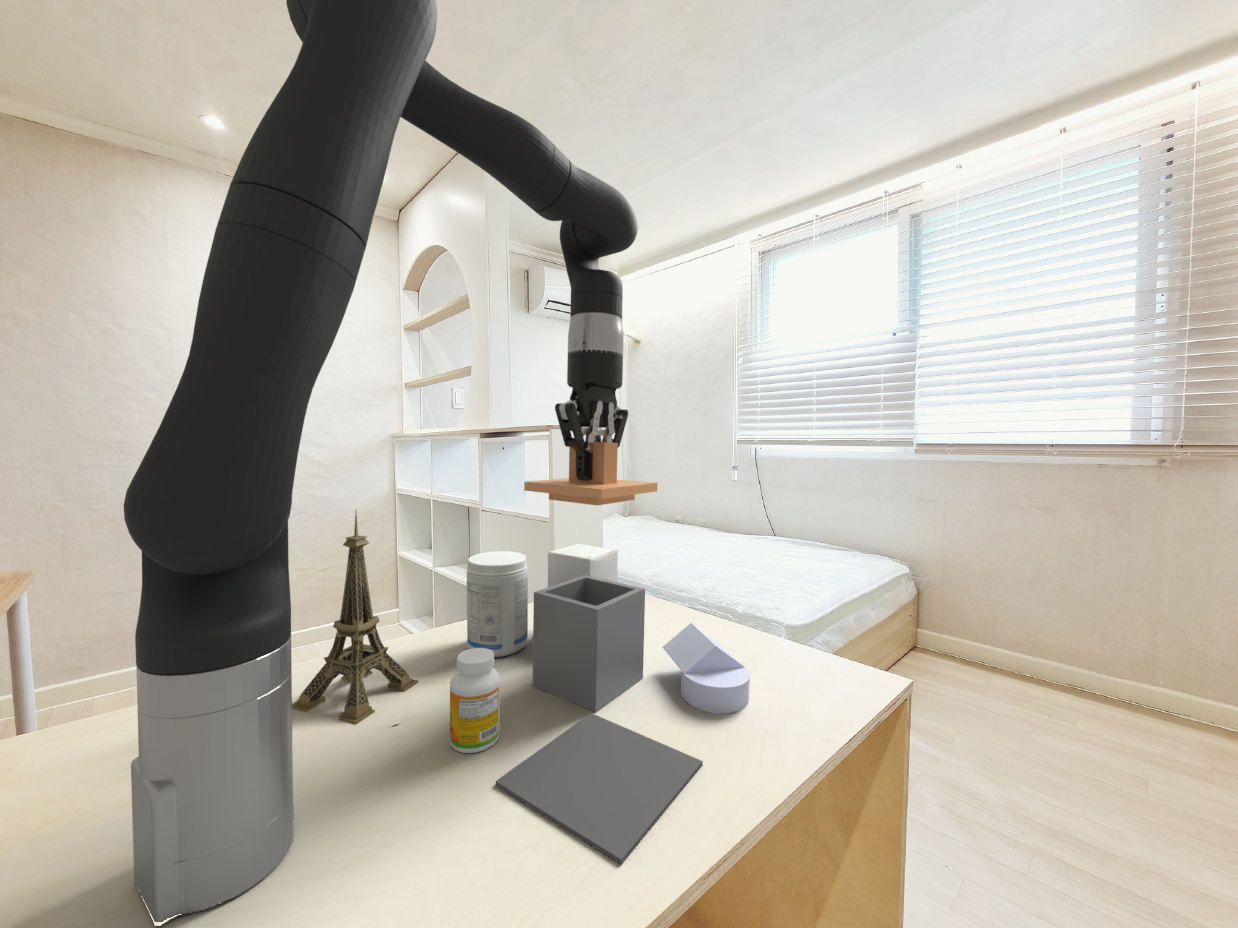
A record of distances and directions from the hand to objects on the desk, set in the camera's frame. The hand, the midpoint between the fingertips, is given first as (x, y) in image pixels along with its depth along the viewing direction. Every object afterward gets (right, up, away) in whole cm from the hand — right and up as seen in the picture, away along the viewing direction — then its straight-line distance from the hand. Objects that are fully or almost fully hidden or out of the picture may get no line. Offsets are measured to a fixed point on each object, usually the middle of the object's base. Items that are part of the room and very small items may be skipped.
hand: (592, 478), depth 67 cm
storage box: (-1, -29, +1) cm, 29 cm away
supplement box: (-3, -28, +18) cm, 33 cm away
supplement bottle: (-13, -29, -12) cm, 34 cm away
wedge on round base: (+16, -29, +1) cm, 33 cm away
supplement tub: (-16, -28, +12) cm, 35 cm away
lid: (0, -3, 0) cm, 3 cm away
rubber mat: (+2, -30, -17) cm, 34 cm away
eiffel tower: (-31, -28, -3) cm, 42 cm away
